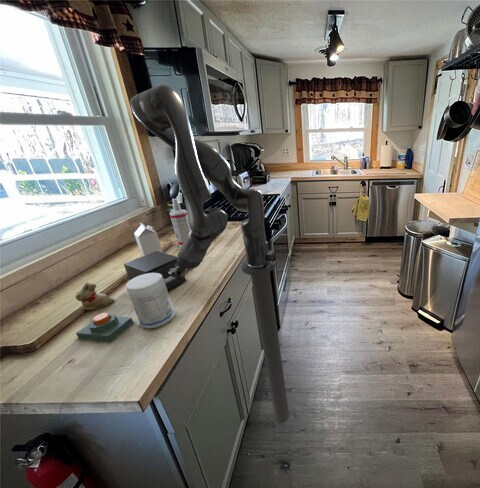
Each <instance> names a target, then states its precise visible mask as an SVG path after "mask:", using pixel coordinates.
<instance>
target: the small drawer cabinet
mask: <svg viewBox="0 0 480 488" xmlns="http://www.w3.org/2000/svg"><path fill="white" fill-rule="evenodd" d="M174 261H177V255H173V254H169V253H165V252H163V253H162V252H159V251H155V252H153V253H150V254H148V255H145V256H143V257H142V256H141V257H138V258H135V259H132V260H129V261H128V262H125V263H123V267H124V269H125V271H126V274H127V277H128V280H129V281H130V280H131V279H133V278H135V277H137V276H140V275H143V274H148V273H149V272H152V271H154V270H156V269H158V268H161V267H163V266H165V265H167V264H170V263H172V262H174ZM186 281H187V280H185V281H183V282H181V283H179V284H177V285H176V286H174V287H177V286H179V285H181V284H183V283H184V282H186ZM174 287H172V288H170V289H168V290H167V291H169V290H171V289H173V288H174Z"/></svg>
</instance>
